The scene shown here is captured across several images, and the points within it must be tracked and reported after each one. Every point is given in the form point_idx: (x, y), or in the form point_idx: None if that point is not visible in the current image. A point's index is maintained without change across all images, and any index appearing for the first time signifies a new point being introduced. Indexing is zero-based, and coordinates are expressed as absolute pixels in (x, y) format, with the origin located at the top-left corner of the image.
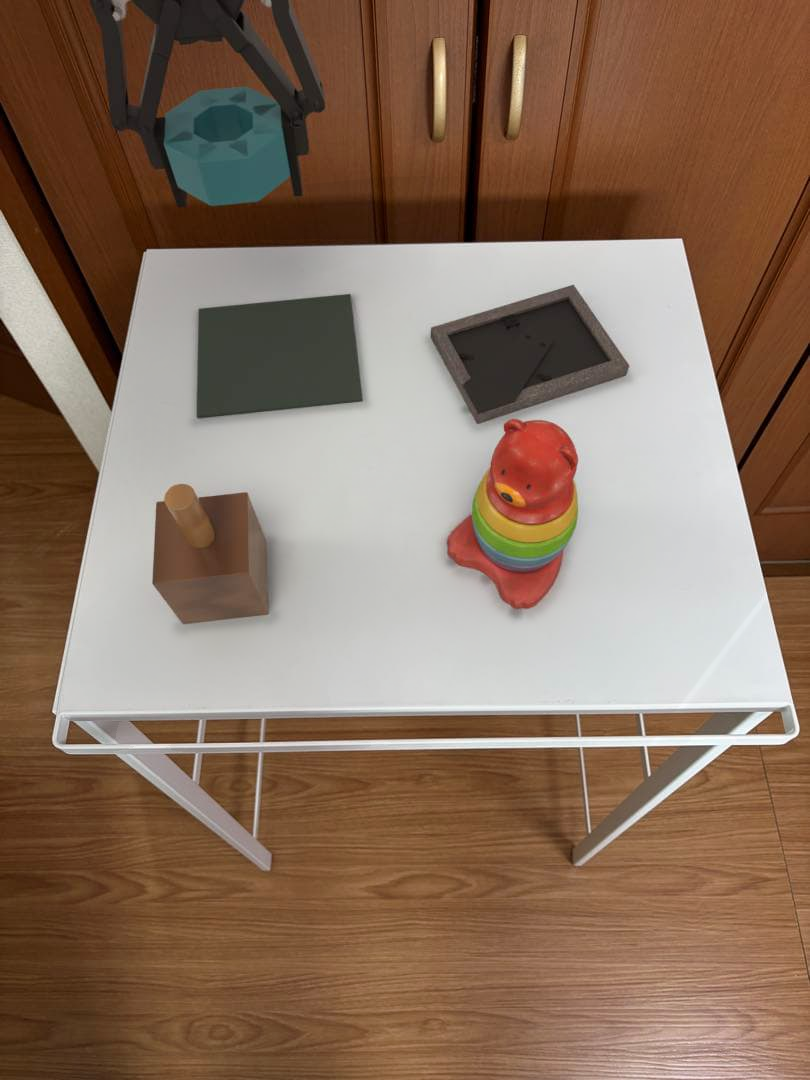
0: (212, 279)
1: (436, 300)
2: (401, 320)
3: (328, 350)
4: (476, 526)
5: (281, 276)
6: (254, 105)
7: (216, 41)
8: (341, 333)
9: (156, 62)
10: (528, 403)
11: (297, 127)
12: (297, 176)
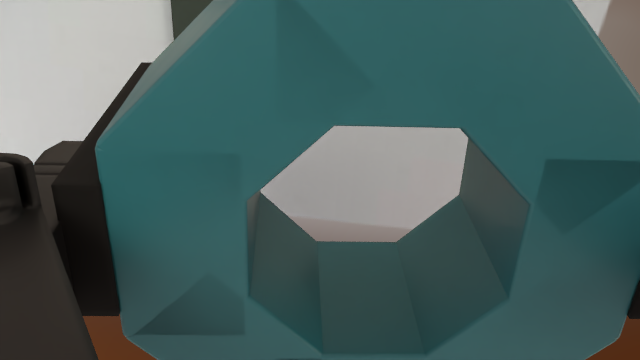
0: (430, 179)
1: (9, 67)
2: (78, 26)
3: None
4: None
5: (307, 169)
6: (239, 338)
7: None
8: (197, 5)
9: None
10: None
11: (4, 153)
12: (130, 89)
